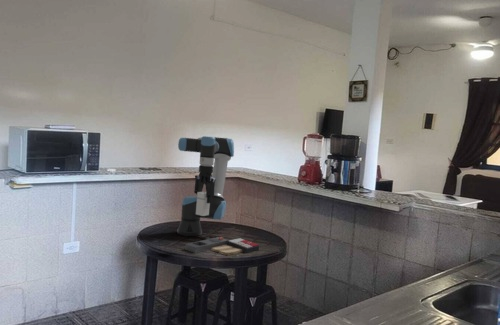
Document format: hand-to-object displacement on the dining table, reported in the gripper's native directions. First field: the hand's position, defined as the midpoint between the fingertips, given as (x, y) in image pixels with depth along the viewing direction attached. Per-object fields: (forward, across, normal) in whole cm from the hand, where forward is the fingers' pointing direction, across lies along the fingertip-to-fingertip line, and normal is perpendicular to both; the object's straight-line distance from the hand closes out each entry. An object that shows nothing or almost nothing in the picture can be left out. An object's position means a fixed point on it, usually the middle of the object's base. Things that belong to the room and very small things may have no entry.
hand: (202, 207), depth 222 cm
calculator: (+23, +13, +22) cm, 34 cm away
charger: (+4, 0, 0) cm, 4 cm away
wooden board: (+23, +11, +10) cm, 27 cm away
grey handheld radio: (+23, 0, +9) cm, 24 cm away
